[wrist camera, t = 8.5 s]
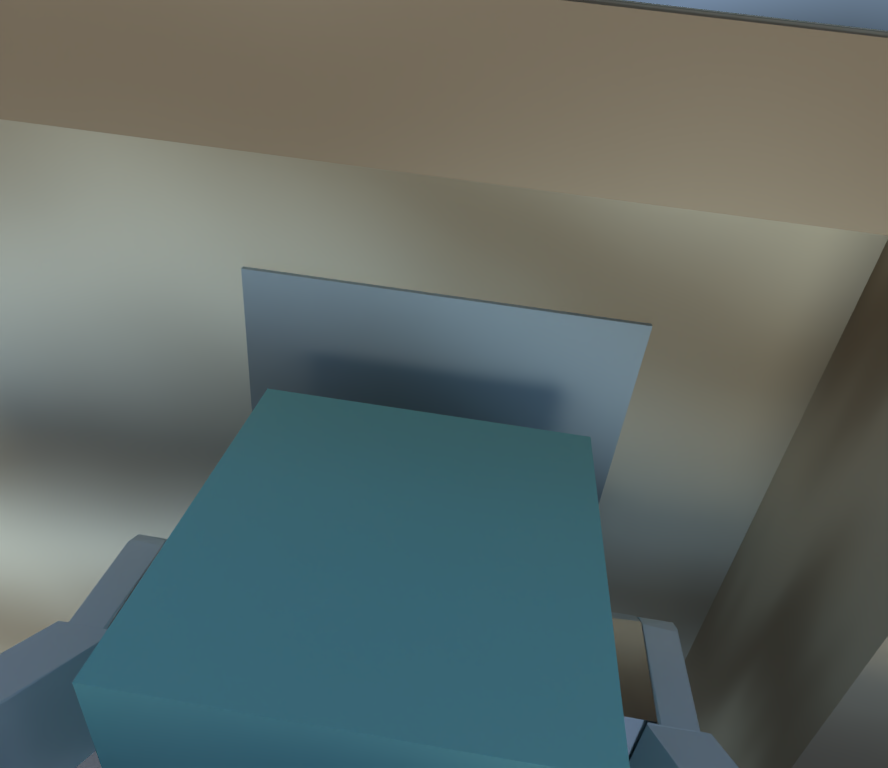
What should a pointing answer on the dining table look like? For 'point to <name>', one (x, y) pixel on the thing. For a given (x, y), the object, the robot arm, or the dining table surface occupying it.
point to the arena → (473, 295)
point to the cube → (370, 604)
